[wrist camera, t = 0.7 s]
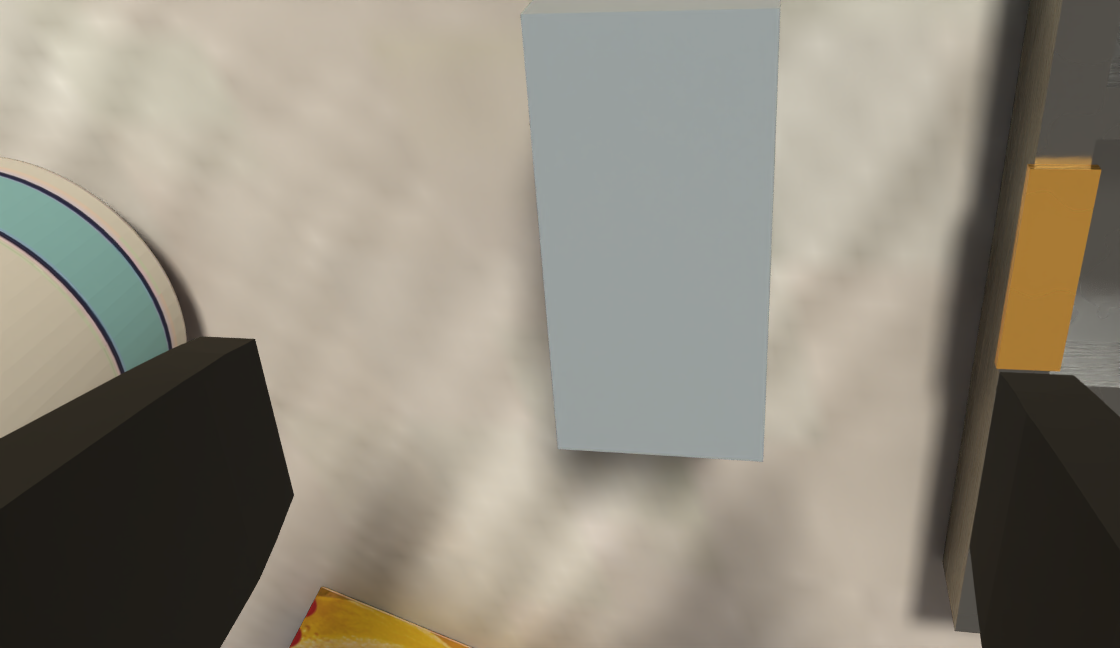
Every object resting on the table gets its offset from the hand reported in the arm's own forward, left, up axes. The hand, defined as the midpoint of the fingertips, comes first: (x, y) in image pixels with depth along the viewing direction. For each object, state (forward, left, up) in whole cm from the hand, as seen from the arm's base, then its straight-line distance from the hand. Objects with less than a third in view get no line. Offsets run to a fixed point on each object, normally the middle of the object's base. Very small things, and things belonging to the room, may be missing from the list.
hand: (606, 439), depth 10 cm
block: (0, 0, -10) cm, 10 cm away
